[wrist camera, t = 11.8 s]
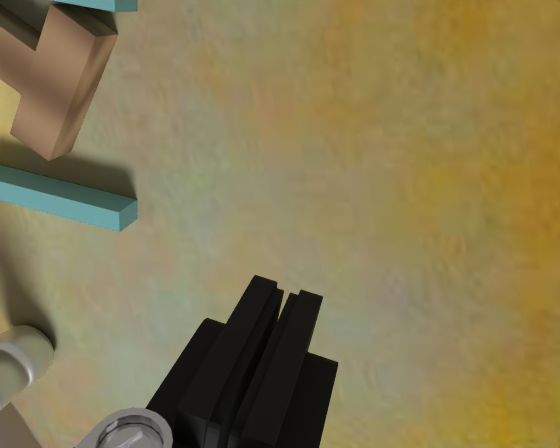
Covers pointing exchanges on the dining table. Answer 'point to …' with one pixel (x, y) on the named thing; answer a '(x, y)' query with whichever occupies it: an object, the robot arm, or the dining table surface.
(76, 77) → the walnut T-block
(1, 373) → the plastic bottle
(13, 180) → the teal corral
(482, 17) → the dining table surface
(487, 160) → the dining table surface
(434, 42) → the dining table surface
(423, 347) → the dining table surface
